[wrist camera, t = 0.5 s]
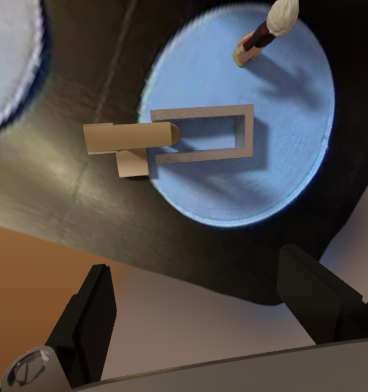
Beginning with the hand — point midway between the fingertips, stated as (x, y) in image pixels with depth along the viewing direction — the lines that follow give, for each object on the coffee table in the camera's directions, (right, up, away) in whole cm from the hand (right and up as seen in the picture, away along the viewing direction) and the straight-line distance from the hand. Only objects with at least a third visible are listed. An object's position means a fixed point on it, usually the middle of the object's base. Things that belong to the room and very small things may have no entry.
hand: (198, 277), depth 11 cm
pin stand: (-8, +12, +25) cm, 29 cm away
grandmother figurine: (+9, +28, +23) cm, 37 cm away
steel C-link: (+2, +15, +25) cm, 29 cm away
